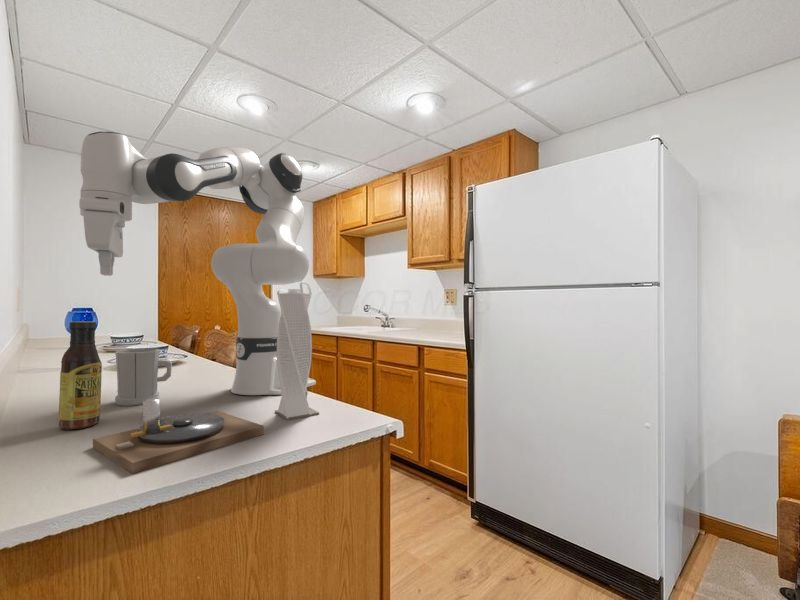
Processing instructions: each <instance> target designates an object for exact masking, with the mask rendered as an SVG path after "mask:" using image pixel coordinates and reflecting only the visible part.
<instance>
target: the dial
mask: <svg viewBox="0 0 800 600" xmlns="http://www.w3.org/2000/svg"><path fill="white" fill-rule="evenodd" d="M223 427H224V418H223V417H221V416H218V415H214V414H205V413H185V414H179V415H178V414H177V415H172V416H166V417H163V418H161V398H160V397H159V398H149V399H145V400H143V404H142V424H141V426H140V427H138V428H139V429H138V428H137V429H138V432H135V433H131V436H132V437H137V436H138V439H139V440H141V441H143V442H147V443H158V444H164V443H178V442H186V441H191V440H196V439H200V438H204V437H207V436H210V435H213V434H215V433H217V432H219V431H220V430H222V429H223Z"/></svg>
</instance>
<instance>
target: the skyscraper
mask: <svg viewBox="0 0 800 600" xmlns="http://www.w3.org/2000/svg"><path fill="white" fill-rule="evenodd" d="M303 284H304V285H306V286H307V289H308V293H304V289H303V288H304V287H303ZM282 292H283V293H282ZM276 294H277V297H278V305H279V306H280V308H281V312H282V313H281V317H280V322H279V328H278V336H277V364H278V374H279V381H280V387H281V393H282V394H281V398H280V402H279V405H278V407H277V408H278V409H276V410H275V409H274V413H275V414H277V415H278V416H280V417H282V418H283V419H284V420H286V421H290V420H295V419H301V418H309V417H313V416H318V415H320V412H319V411H318V410H316V409H313V408H311V407H310V406H309V402H308V392H309V391H308V387H307V383H308V378H310V377H309V376H310V370H311V363H312V354H313V353H312V352H313V338H312V328H311V326H312V325H311V321H310V316H309V311H308V309H309V305H310V302H311V297H312V294H313V293H312V291H311V286H310V285H309V284H308V282H307V281H303V280H302V281H300V283H299V288H292V289H291V288H288V289H283V288H281V289H278V290H277V291H276Z"/></svg>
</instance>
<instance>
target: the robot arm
mask: <svg viewBox="0 0 800 600" xmlns="http://www.w3.org/2000/svg"><path fill="white" fill-rule="evenodd" d="M80 153H81V154H80V174H81V177H82V185H81V188H80V194H79V195H80V198H79V202H78V203H79V209H80V213H79V214H80V216H82V218H83V229H84V237H85V238H84V239H85V242H86V246H87V248H89V249H90V250H93V251H94V252H96V253H98V258H97V259H98V262H99V268H100V269H99V270H100V272H99V273H100V275H101V276H110V277H111V276H113V275H114V266H115V265H114V264H115V259H116V258H122V257H123V254H124V232H123V228H125V227H126V222H130V221H132V219H133V203H136V204H140V205H150V204H151V205H152V204H158V203H168V202H186V201H189V200H191V199H192V198H194V197H195V196H196V195H197V194H198V193H199V192H200V191H201V190H203V189H204V188H206V187H208V188H210V189H213V190H227V189H232V188H237V187H238V189H239V193H240V194H241V198H242V200H243V202H244V203H245V205H246V207H247V208H248V209H249V210H250V211H252V212H254V213H257V214H259V215H263V217H262V218H261V220H260V222H259V224H258V225H257V228H256V229H255V230H256V231H255V235H256V240H257V242H258V243H257V242H256V243H234V244H228V245H223V246H220V247H218V248H216V250H215V251H214V252H213V255H212V257H211V262H210V263H211V265H210V266H211V270H212V272H213V274H214V276H215V277H216V278H217V280H218V281H220V282H221V283H222V284H223V285H224V286H225V287H226V288H227V289H228V291H229V292H230V294H231V296H232V298H233V299H234V303H235V306H236V312H237V337H236V344H235V353H236V365H235V366H236V367H235V375H234V380H233V384H232V387H231V389H230V390H231V392H230V393H233V394H236V395H242V396H263V395H264V396H265V395H266V396H267V395H269V396H270V395H271V396H272V395H273V396H274V395H276V396H279V395H281V396H282V393H281V387H280V381H279V374H278V364H277V336H278V328H279V322H280V317H281V313H282V312H281V308H280V304H279V303H277V302H276V301H275V300H273V299H271V298H269V297H267V296H266V294H265V292H264V289H263V285H264V286H265V285H267V286H268V285H270V286H271V285H274V286H275V285H278V286H282V285H283V286H286V285H289V284H295V283H299V282H300V283H301V282H302V281H303V280H304V279H305V278H306V276H307V274H308V272H309V269H310V260H309V257H308V254H307V252H306V251H305V250H304V248H303V247H302V246H300V245H297V244H296V241H297V238H298V236H299V234H300V231H301V230H302V226H303V224H304V223H303V222H304V219H305V207H304V205H303V204H302V202H301V201H300V200H299V199H298V198H297V193H300V192H301V191H302V189H303V188H302V187H303V186H302V181H303V170H302V167H301V165H300V163H299V162H298V161H297V159H295V158H294V157H293V156H292V155H290V154H287V153H284V152H280V153H277V154H275V155H273V156H272V157H271V158H270V159H269V161H268V162H266V163H265V164H264V165H262V164H261V162H260V159H259V157H258V155H256V153H255V152H254V151H253V150H251V149H249V148H246V147H239V146H225V147H224V146H223V147H222V146H221V147H216V148H211V149H207V150H206V151H203V152H202V153H200V154H199V156H198V159H193V158H190V157H187V156H184V155H182V154H179V153H174V152H173V153H166V154H163V155H160V156H157V157H150V158H147V157H145V156H143V155H142V154H141V152H139V151H138V150H136V148H135V147H134V146H133V145H132V144H131V142H130V139H129V137H128V136H126V135H124V134H122V133H119V132H114V131H101V130H100V131H95V132H91V133H89V134H87V135H85V137H84V138H83V141H82V146H81V152H80ZM316 384H317V381H316V380H315V379H314V378H310V377H309V378H308V383H307V388H309V387H311V386H315V385H316Z"/></svg>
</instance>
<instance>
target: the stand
mask: <svg viewBox="0 0 800 600" xmlns="http://www.w3.org/2000/svg"><path fill="white" fill-rule="evenodd" d="M204 414H214V415H218V416H221V417H223V418H224V427H223V429H222V430H220V431H219V432H217V433H215V434H213V435H210V436H207V437H204V438H200V439H196V440H191V441H186V442H178V443H164V444H158V443H147V442H143V441H141V440H139V439H138V436H137V437H132V436H131V433H135V432H138V429H139V428H140V427H138V428H135V429H129V430H125V431H120V432H117V433H112V434H108V435H101V436H98V437H95V438H92V449H94V450H96V451H97V452H99V453H100V454H102V455H103V456H104V457H106V458H108V459H109V460H110V461H113V462H114V463H116V464H117V465H119V466H120V467H122V468H123V469H125V470H127V471H128V472H129V473H131V474H133V475H134V474H136V473H139V472H142V471H146V470H149V469H152V468H156V467H158V466H159V467H160V466H162V465H166V464H170V463H173V462H176V461H178V460H182V459H186V458H190V457H193V456H195V455H200V454H202V453H205V452H209V451H212V450H216V449H219V448H222V447H225V446H228V445H232V444H235V443H239V442H243V441H245V440H249V439H253V438H256V437H258V436H262V435H264V434H265V426H264V425H262V424H260V423H258V422H257V423H256V422H252V421H250V420H247V419H244V418H240V417H237V416H235V415H231V414H229V413H225V412H222V411H219V410H215V411H209V412H206V413H204Z"/></svg>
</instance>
